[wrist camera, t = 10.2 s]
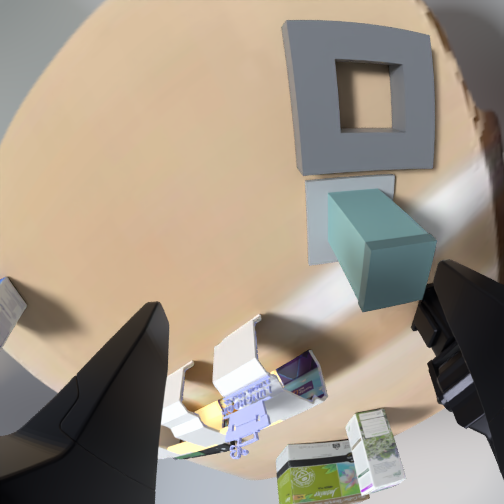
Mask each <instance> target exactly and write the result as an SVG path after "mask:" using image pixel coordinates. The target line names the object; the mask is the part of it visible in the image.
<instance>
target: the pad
mask: <svg viewBox="0 0 504 504" xmlns="http://www.w3.org/2000/svg"><path fill="white" fill-rule="evenodd" d="M394 180H395V175H393V174H381V175H364V176H350V177H337V178H325V179H314V180H305V191H306V211H307V236H308V264H309V266H310V265H317V264H324V263H331V262H338V259H337V257H336V255H335V253H334V252H333V250H332V248H331V246H330V244H329V242H328V193H330V192H341V191H352V190H364V189H377V188H378V189H379V190H380V191H381V192H383V193H384V194H385V195H386V196H387V197H388V198H390V199H391V200H392V201H393V195H394Z"/></svg>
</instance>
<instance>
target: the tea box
mask: <svg viewBox="0 0 504 504" xmlns="http://www.w3.org/2000/svg"><path fill="white" fill-rule="evenodd" d="M276 470H277V483H278V494H279V504H358V503H360V502H362V501H364V500H366V499H369V498H370V497H369V494H367V495H363V496H362V495H361V491H360V487H359V482H358V478H357V473H356V468H355V464H354V459H353V455H352V451H351V446H350V443H349V440H346V441H338V442H327V443H311V444H288V445H287V446H286V447H285V448H284V450H283V451H282V452H281V453H280V455H279V456H278V457H277V459H276Z"/></svg>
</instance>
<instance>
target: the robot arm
mask: <svg viewBox="0 0 504 504" xmlns="http://www.w3.org/2000/svg"><path fill="white" fill-rule="evenodd" d="M411 329H412V330H413V331H417V330H418V331H419V333H420V335H421V336H422V338H423V340H424V342H425V343H426V345H427V347H428V348H432V350H433V351H434V353H435V355H436V357H435V358H434V359H433V360H430V361H429V362H428V363H427V365H428V368H429V373H430V376H431V380H432V383H433V386H434V389H435V392H436V396H437V402H438V403H439V404H442V405H444V407H445V408H446V409H447V410H448V411H450V412H453V413H454V416H455V419H456V421H457V423H458V424H459V425H460V426H462V427H464V428H466V429H467V428H470V429H473V430H475V431H477V432H479V433H481V434H483V435H485V436H486V438H487V440H488V442H489V444H490V446H491V449H492V451H493V454H494V456H495V459H496V461H497V464H498V466H499V469H500V472H501V474H502V477H503V479H504V285H502V284H500V283H498V282H496V281H494V280H492V279H490V278H488V277H486V276H484V275H482V274H480V273H478V272H476V271H474V270H472V269H470V268H468V267H465V266H463V265H461V264H459V263H457V262H455V261H453V260H450V259H447V260H442V261H440V262H439V263H438V266H437V270H436V273H435V277H434V282H433V284H429V285H426V288H425V291H424V295H423V298H422V300H419V304H418V307H417V310H416V313H415V317H414V320H413V323H412V326H411ZM168 348H169V322H168V319H167V317H166V314H165V312H164V309H163V307H162V305H161V303H160V302H158V301H156V302H147V303H146V304H145V305H144V306H143V307H142V308H141V309H140V310H139V311H138V312H137V313H136V314H135V315H134V316H133V317H132V318H131V319H130V320H129V321H128V322H127V323H126V324H125V325H124V326H123V327H122V328H121V329H120V330H119V331H118V332H117V333H116V334H115V335H114V336H113V337H112V338H111V339H110V340H109V341H108V342H107V343H106V344H105V345H104V346H103V347H102V348H101V349H100V350H99V351H98V352H97V353H96V354H95V355H94V356H93V357H92V358H91V359H90V360H89V362H88V363H87V364H86V365H85V366H84V367H83V368H82V369H81V370H80V371H79V372H78V373H77V376H74V377H73V378H72V379H71V380H70V382H69V383H68V384H67V385H66V386H65V387H64V388H63V389H62V390H61V391H60V392H59V393H58V394H57V395H56V396H55V397H54V398H53V399H52V400H51V401H50V402H49V403H48V404H46V406H45V407H43V408H42V409H41V410H40V411H39V412H38V413H37V414H36V415H35V416H33V417H32V418H31V419H30V420H29V421H28V422H27V423H26V424H25V425H24V426H23V427H21V428H20V429H19V430H17V431H16V432H14V433H12V434H9V435H5V436H0V504H155V487H156V473H157V460H158V449H159V439H160V429H161V420H162V411H163V403H164V395H165V387H166V380H167V372H168Z"/></svg>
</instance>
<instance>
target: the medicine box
mask: <svg viewBox="0 0 504 504" xmlns="http://www.w3.org/2000/svg"><path fill="white" fill-rule="evenodd" d="M26 307H27V304H26V303H25V302H24V300H23V299H22V297H21V296H20V295H19V293H18V292H17V290H16V289H15V287H14V286H13V285H12V283H11V282H10V280H9V279H8V277H5V278H3V279H1V280H0V351H1V349H2V347H3V346H4V344H5V342H6V340H7V339H8V337H9V335H10V333H11V332H12V330H13V328H14V327H15V325H16V323H17V322H18V320H19V318H20V317H21V315H22V313H23V312H24V310H25V309H26Z"/></svg>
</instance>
